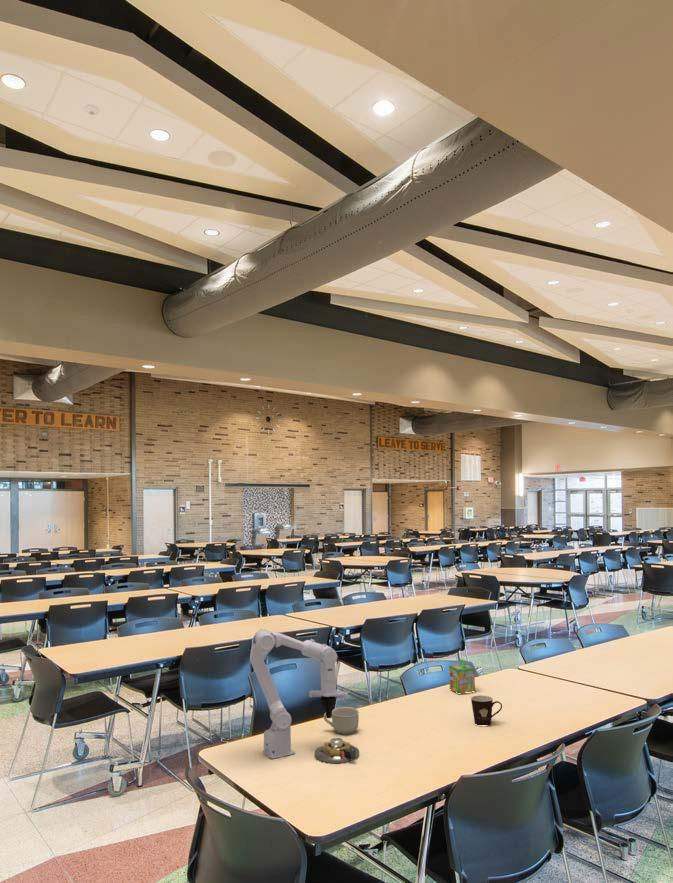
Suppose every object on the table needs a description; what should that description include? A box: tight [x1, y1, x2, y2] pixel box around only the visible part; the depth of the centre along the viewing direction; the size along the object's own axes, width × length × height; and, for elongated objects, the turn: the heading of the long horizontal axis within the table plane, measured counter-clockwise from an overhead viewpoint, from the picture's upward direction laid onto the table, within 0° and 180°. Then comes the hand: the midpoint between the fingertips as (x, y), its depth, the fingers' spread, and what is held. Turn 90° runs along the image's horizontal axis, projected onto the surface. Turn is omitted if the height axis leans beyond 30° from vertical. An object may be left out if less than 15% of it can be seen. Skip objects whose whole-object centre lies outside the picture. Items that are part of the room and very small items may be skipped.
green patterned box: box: [448, 658, 476, 693], centre depth 309 cm, size 9×9×15 cm
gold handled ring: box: [322, 740, 356, 759], centre depth 230 cm, size 15×9×3 cm, turn 38°
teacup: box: [323, 706, 360, 735], centre depth 257 cm, size 14×11×8 cm
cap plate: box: [314, 737, 360, 765], centre depth 232 cm, size 16×16×5 cm
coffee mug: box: [470, 694, 503, 726], centre depth 262 cm, size 12×9×10 cm
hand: (329, 717), depth 242 cm, fingers closed
